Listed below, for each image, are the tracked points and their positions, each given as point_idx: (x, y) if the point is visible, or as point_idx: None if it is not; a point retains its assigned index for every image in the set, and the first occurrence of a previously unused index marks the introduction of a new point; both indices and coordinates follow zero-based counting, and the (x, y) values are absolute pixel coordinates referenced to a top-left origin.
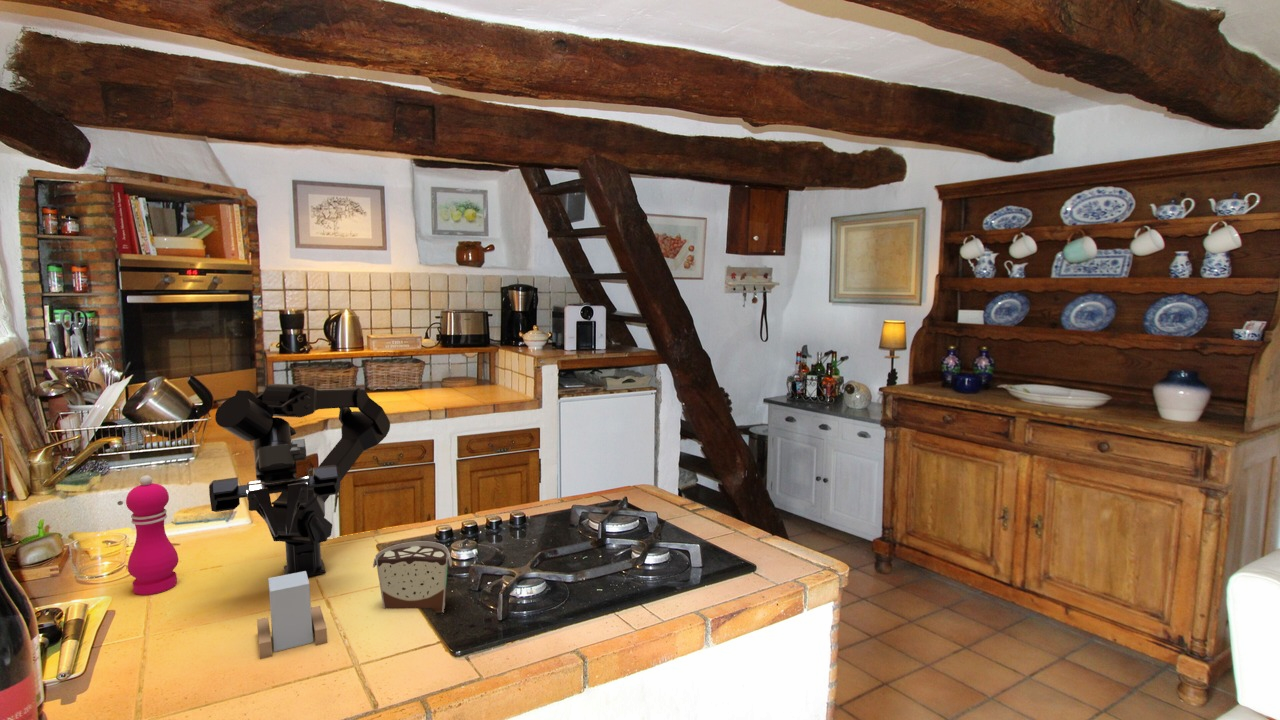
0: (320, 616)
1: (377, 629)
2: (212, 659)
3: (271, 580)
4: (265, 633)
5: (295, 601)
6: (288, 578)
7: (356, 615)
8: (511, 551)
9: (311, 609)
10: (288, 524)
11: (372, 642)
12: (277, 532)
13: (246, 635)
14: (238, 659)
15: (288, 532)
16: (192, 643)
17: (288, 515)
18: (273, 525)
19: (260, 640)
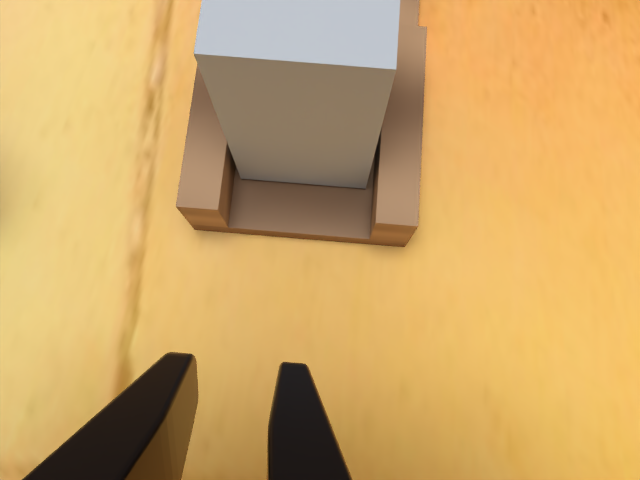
0: (199, 110)
1: (46, 89)
2: (546, 196)
3: (383, 31)
4: (400, 88)
5: None
6: (298, 3)
7: (65, 233)
8: None
9: (214, 189)
10: (146, 396)
11: (91, 19)
12: (279, 371)
13: (438, 309)
14: (471, 148)
15: (180, 355)
16: (615, 360)
17: (88, 477)
18: (305, 427)
19: (420, 47)
